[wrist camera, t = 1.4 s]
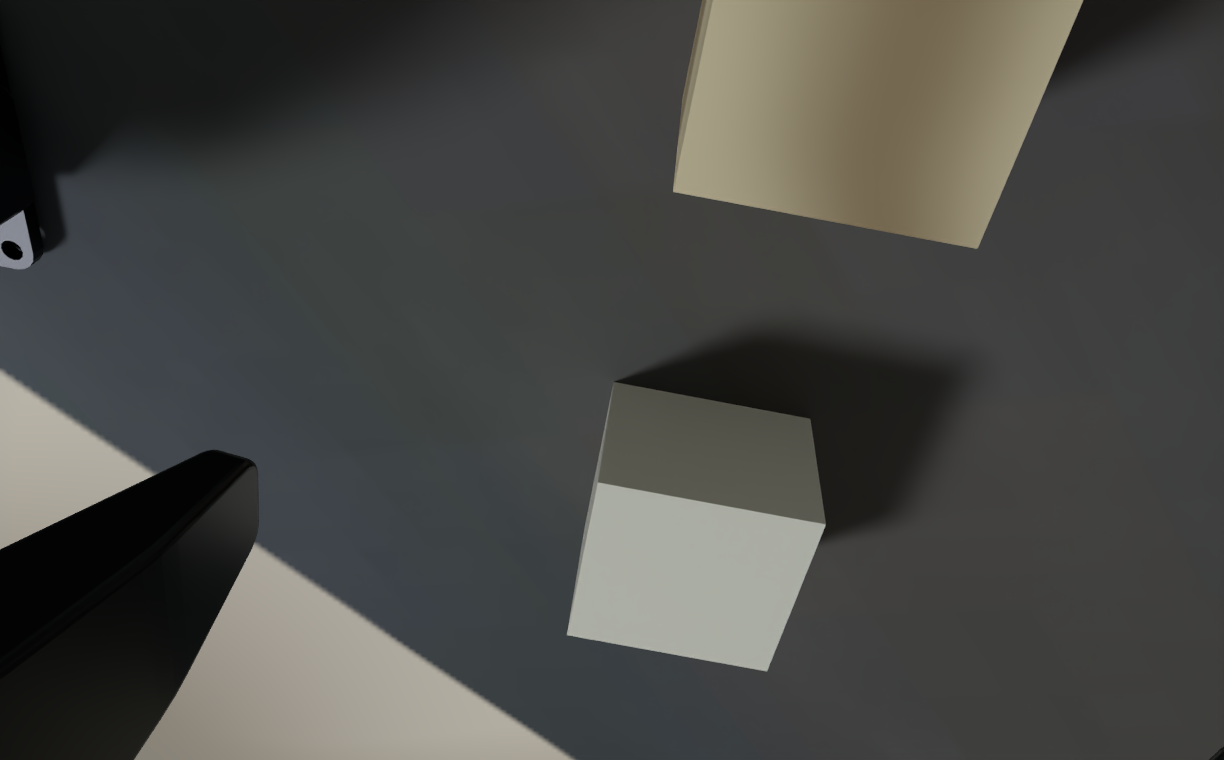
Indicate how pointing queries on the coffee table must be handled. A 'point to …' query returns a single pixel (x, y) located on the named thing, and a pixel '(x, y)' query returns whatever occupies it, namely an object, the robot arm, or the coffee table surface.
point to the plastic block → (697, 527)
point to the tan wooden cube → (867, 107)
